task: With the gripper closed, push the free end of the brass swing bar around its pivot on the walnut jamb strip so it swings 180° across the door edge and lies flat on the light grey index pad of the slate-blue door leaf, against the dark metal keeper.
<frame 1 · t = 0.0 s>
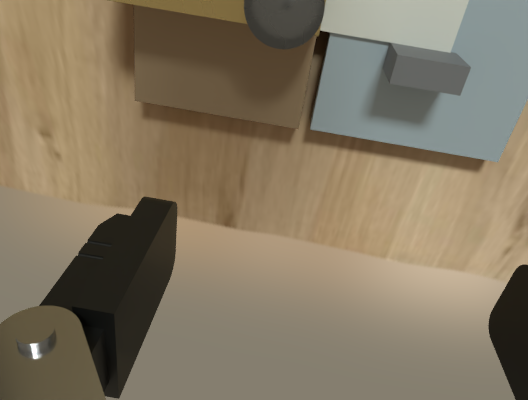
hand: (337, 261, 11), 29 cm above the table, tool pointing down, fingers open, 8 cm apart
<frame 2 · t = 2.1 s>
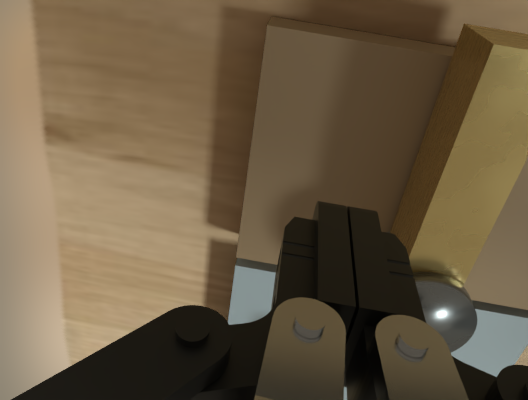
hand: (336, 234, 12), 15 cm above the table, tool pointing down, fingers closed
door mock-up: (386, 267, 30), on the table
swing bar: (448, 208, 21), point 5 cm above the table, hinge at 0.0°
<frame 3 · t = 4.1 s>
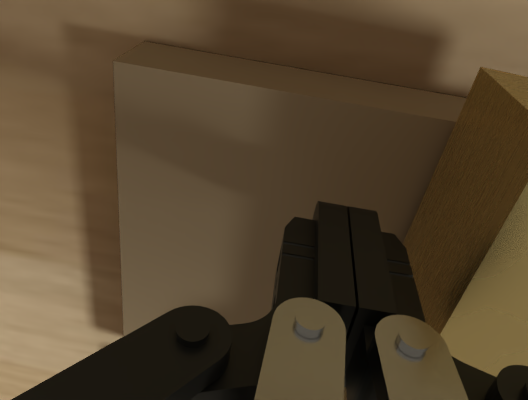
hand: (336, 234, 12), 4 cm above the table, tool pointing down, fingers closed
door mock-up: (350, 390, 21), on the table
swing bar: (438, 380, 12), point 5 cm above the table, hinge at 2.3°, touching gripper
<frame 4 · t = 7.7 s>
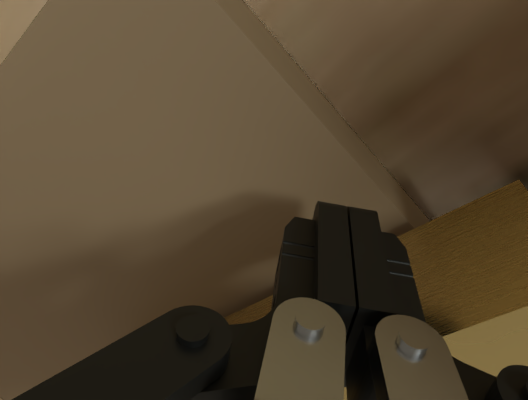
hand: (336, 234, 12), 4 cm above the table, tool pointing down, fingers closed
door mock-up: (255, 350, 21), on the table
swing bar: (303, 382, 13), point 5 cm above the table, hinge at 96.1°, touching gripper
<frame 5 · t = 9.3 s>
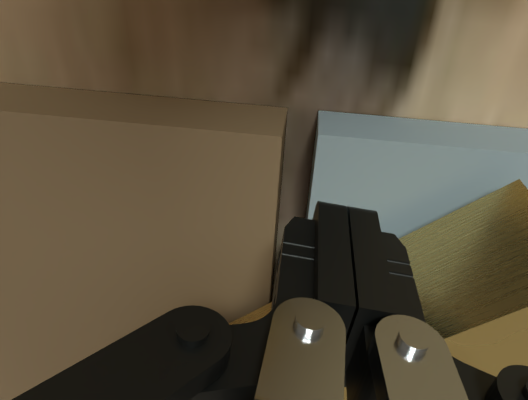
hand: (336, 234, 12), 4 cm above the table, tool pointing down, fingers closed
door mock-up: (280, 327, 20), on the table
swing bar: (307, 387, 13), point 5 cm above the table, hinge at 139.2°, touching gripper
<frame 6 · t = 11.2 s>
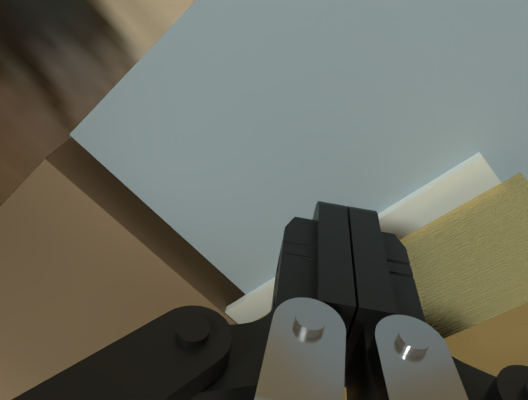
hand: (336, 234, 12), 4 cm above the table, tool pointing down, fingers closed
door mock-up: (276, 296, 19), on the table
swing bar: (318, 390, 13), point 5 cm above the table, hinge at 180.6°, touching gripper
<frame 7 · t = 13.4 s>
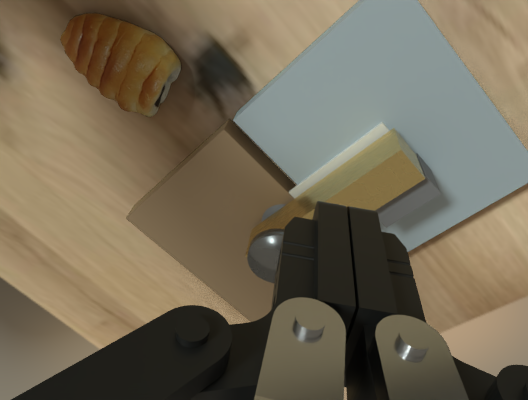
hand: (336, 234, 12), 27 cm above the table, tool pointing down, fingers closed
pastry: (133, 62, 38), on the table
door mock-up: (308, 191, 42), on the table
swing bar: (327, 210, 37), point 5 cm above the table, hinge at 180.6°
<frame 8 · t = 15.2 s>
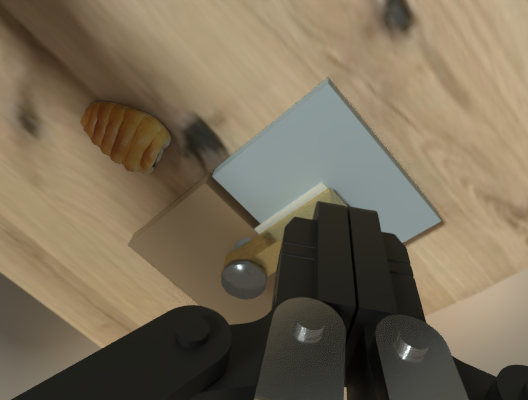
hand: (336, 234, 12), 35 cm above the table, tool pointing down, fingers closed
pastry: (134, 133, 50), on the table
door mock-up: (270, 227, 55), on the table
swing bar: (281, 245, 49), point 5 cm above the table, hinge at 180.6°
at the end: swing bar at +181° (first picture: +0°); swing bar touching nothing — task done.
